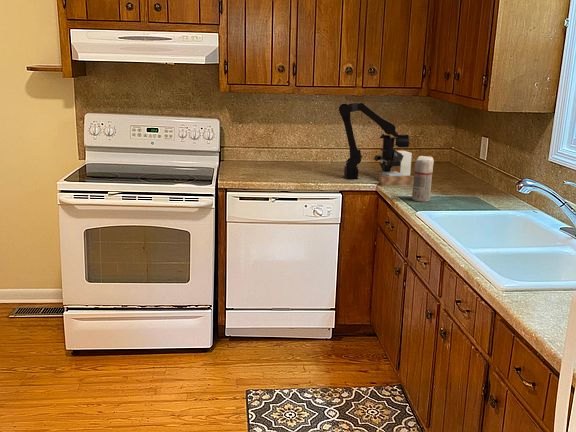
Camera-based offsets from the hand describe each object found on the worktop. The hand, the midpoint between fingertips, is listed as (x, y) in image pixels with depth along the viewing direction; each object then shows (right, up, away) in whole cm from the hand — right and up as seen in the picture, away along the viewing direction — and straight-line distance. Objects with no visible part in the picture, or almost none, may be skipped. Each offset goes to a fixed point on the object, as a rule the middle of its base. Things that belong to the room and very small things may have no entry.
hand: (386, 176), depth 325 cm
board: (+3, -4, -10) cm, 12 cm away
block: (+2, -3, -5) cm, 6 cm away
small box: (+10, +1, +13) cm, 17 cm away
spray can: (+9, -13, -42) cm, 45 cm away
